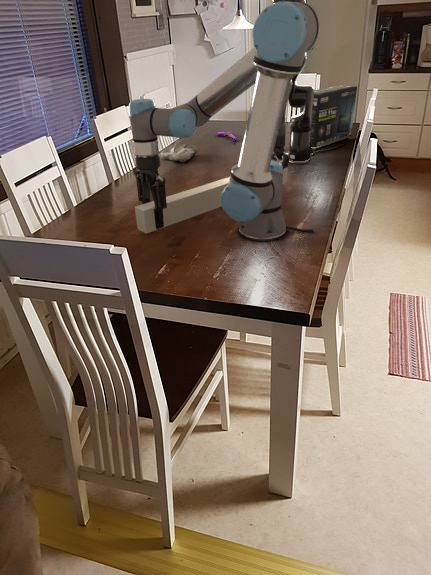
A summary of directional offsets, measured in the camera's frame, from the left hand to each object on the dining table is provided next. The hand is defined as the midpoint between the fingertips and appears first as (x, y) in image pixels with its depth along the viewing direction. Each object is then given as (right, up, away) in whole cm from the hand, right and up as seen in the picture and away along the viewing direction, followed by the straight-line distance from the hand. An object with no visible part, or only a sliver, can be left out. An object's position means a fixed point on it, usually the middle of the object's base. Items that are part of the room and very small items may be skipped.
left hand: (154, 225), depth 151 cm
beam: (+22, +10, +17) cm, 29 cm away
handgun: (+27, +65, +111) cm, 132 cm away
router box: (+79, +56, +94) cm, 135 cm away
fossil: (+2, +44, +78) cm, 90 cm away
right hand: (+44, +24, +32) cm, 59 cm away
